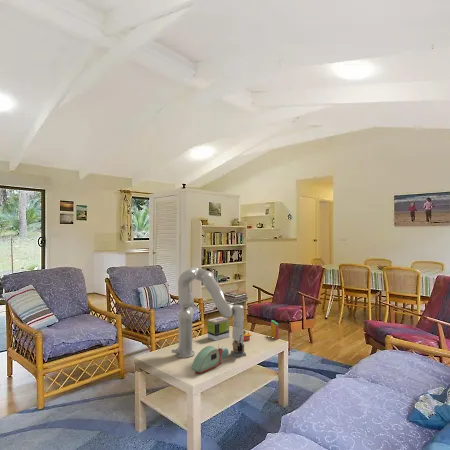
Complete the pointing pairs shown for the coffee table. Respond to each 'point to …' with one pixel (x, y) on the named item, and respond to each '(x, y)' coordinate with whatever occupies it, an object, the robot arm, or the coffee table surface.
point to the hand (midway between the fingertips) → (238, 349)
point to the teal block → (224, 352)
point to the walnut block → (235, 347)
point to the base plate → (238, 353)
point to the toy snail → (207, 359)
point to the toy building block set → (273, 331)
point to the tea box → (218, 328)
